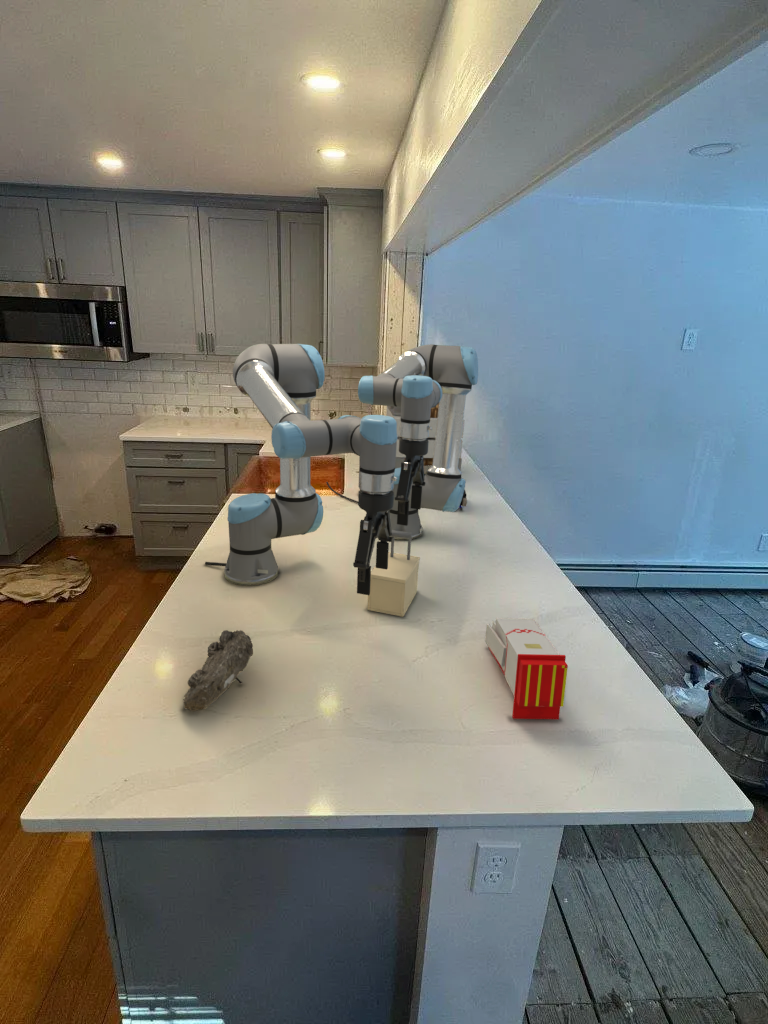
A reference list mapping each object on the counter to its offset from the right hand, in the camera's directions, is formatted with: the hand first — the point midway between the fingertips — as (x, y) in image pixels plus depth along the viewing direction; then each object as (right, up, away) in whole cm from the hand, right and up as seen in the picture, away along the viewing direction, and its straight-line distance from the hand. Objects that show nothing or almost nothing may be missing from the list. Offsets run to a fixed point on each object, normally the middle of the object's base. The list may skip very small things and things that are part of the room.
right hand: (409, 516), depth 152 cm
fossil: (-40, -34, -33) cm, 63 cm away
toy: (+23, -35, -28) cm, 50 cm away
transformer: (+11, +20, +123) cm, 125 cm away
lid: (-4, -14, -1) cm, 14 cm away
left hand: (-9, -14, -25) cm, 30 cm away
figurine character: (+23, +3, +79) cm, 82 cm away
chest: (-4, -23, +2) cm, 23 cm away
